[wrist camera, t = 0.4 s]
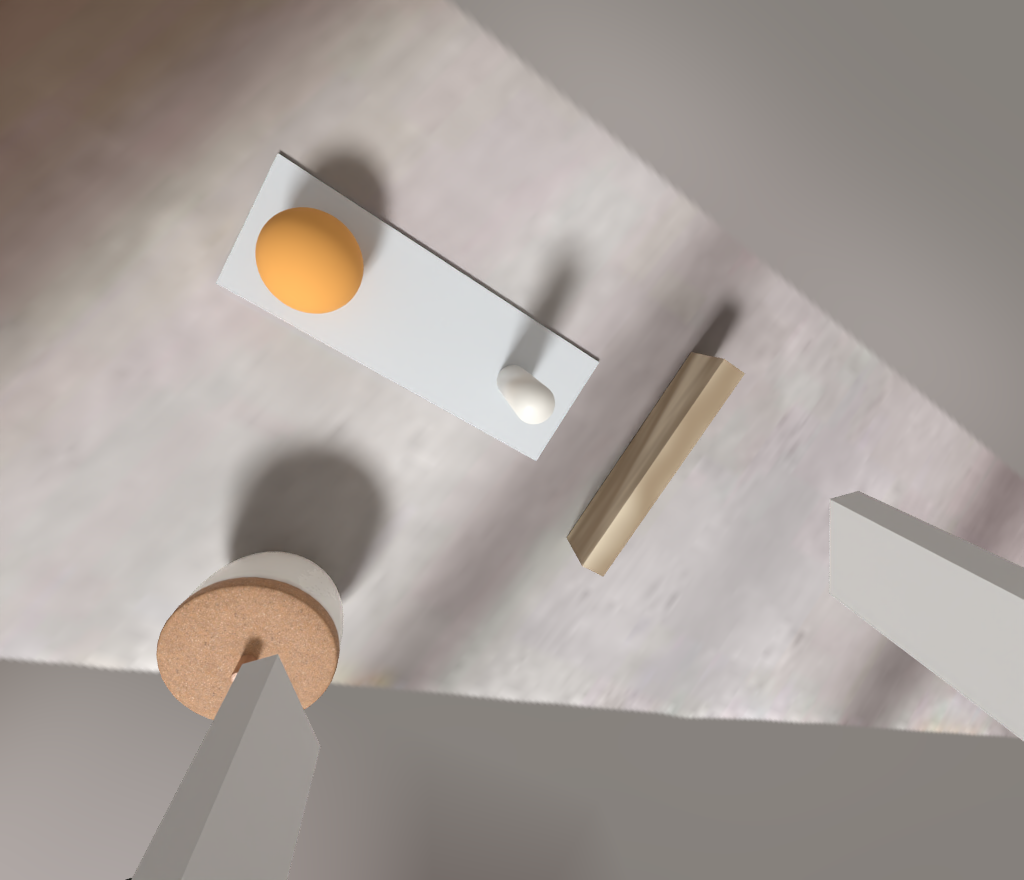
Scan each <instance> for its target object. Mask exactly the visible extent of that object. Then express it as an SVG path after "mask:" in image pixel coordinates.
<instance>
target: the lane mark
mask: <svg viewBox="0 0 1024 880" xmlns="http://www.w3.org/2000/svg"><path fill="white" fill-rule="evenodd" d="M297 207H309V208H315V209H318V210H321V211H324V212H326V213H328V214H330V215H332V216H334V217H335V218H337V219H338V220H339V221H341V222H342V223H343V224H344V225H345V226H346V227H347V228H348V229H349V230H350V232H351V233H352V234H353V236H354V237H355V239H356V241H357V243H358V245H359V247H360V250H361V253H362V257H363V265H364V270H363V278H362V282H361V285H360V287H359V289H358V291H357V293H356V294H355V296H354V297H353V298H352V299H351V300H350V301H349V302H348V303H347V304H346V305H344V306H342V307H341V308H339V309H337V310H335V311H332V312H328V313H322V314H313V313H305V312H301V311H298V310H295V309H293V308H291V307H289V306H287V305H285V304H284V303H282V302H281V301H280V300H278V299H277V298H276V297H275V296H274V295H273V294H272V293H271V292H270V291H269V290H268V288H267V287H266V286H265V284H264V282H263V281H262V279H261V277H260V274H259V272H258V268H257V265H256V258H255V249H256V243H257V239H258V236H259V234H260V231H261V230H262V228H263V226H264V225H265V224H266V223H267V221H268V220H269V219H271V218H272V217H273V216H274V215H276V214H278V213H279V212H282V211H284V210H287V209H291V208H297ZM216 284H218V285H220V286H221V287H223V288H225V289H227V290H229V291H230V292H232V293H234V294H236V295H238V296H239V297H241V298H243V299H245V300H247V301H248V302H250V303H252V304H254V305H256V306H257V307H259V308H261V309H263V310H265V311H266V312H268V313H270V314H272V315H274V316H275V317H277V318H279V319H281V320H283V321H285V322H286V323H288V324H290V325H292V326H294V327H295V328H297V329H299V330H301V331H303V332H304V333H306V334H308V335H310V336H312V337H313V338H315V339H317V340H319V341H321V342H322V343H324V344H326V345H328V346H330V347H331V348H333V349H335V350H337V351H339V352H340V353H342V354H344V355H346V356H348V357H349V358H351V359H353V360H355V361H357V362H358V363H360V364H362V365H364V366H366V367H367V368H369V369H371V370H373V371H375V372H376V373H378V374H380V375H382V376H384V377H385V378H387V379H389V380H391V381H393V382H394V383H396V384H398V385H400V386H402V387H403V388H405V389H407V390H409V391H411V392H412V393H414V394H416V395H418V396H420V397H421V398H423V399H425V400H427V401H429V402H431V403H432V404H434V405H436V406H438V407H440V408H441V409H443V410H445V411H447V412H449V413H450V414H452V415H454V416H456V417H458V418H459V419H461V420H463V421H465V422H467V423H468V424H470V425H472V426H474V427H476V428H477V429H479V430H481V431H483V432H485V433H486V434H488V435H490V436H492V437H494V438H495V439H497V440H499V441H501V442H503V443H504V444H506V445H508V446H510V447H512V448H513V449H515V450H517V451H519V452H521V453H522V454H524V455H526V456H528V457H530V458H531V459H533V460H535V461H536V460H537V459H538V457H539V456H540V454H541V453H542V451H543V449H544V448H545V446H546V445H547V443H548V442H549V440H550V438H551V437H552V435H553V434H554V432H555V431H556V429H557V428H558V426H559V424H560V423H561V421H562V420H563V418H564V417H565V415H566V413H567V412H568V410H569V409H570V407H571V406H572V404H573V402H574V401H575V399H576V398H577V396H578V395H579V393H580V391H581V390H582V388H583V387H584V385H585V384H586V382H587V381H588V379H589V377H590V376H591V374H592V373H593V371H594V370H595V368H596V366H597V365H598V363H599V362H598V361H596V360H595V359H593V358H592V357H590V356H589V355H587V354H586V353H584V352H583V351H581V350H579V349H578V348H576V347H575V346H573V345H572V344H570V343H569V342H567V341H566V340H564V339H563V338H561V337H560V336H558V335H556V334H555V333H553V332H552V331H550V330H549V329H547V328H546V327H544V326H543V325H541V324H540V323H538V322H536V321H535V320H533V319H532V318H530V317H529V316H527V315H526V314H524V313H523V312H521V311H520V310H518V309H517V308H515V307H513V306H512V305H510V304H509V303H507V302H506V301H504V300H503V299H501V298H500V297H498V296H497V295H495V294H494V293H492V292H490V291H489V290H487V289H486V288H484V287H483V286H481V285H480V284H478V283H477V282H475V281H474V280H472V279H470V278H469V277H467V276H466V275H464V274H463V273H461V272H460V271H458V270H457V269H455V268H454V267H452V266H451V265H449V264H447V263H446V262H444V261H443V260H441V259H440V258H438V257H437V256H435V255H434V254H432V253H431V252H429V251H427V250H426V249H424V248H423V247H421V246H420V245H418V244H417V243H415V242H414V241H412V240H411V239H409V238H408V237H406V236H404V235H403V234H401V233H400V232H398V231H397V230H395V229H394V228H392V227H391V226H389V225H388V224H386V223H384V222H383V221H381V220H380V219H378V218H377V217H375V216H374V215H372V214H371V213H369V212H368V211H366V210H365V209H363V208H361V207H360V206H358V205H357V204H355V203H354V202H352V201H351V200H349V199H348V198H346V197H345V196H343V195H342V194H340V193H338V192H337V191H335V190H334V189H332V188H331V187H329V186H328V185H326V184H325V183H323V182H322V181H320V180H318V179H317V178H315V177H314V176H312V175H311V174H309V173H308V172H306V171H305V170H303V169H302V168H300V167H299V166H297V165H295V164H294V163H292V162H291V161H289V160H288V159H286V158H285V157H283V156H282V155H280V154H279V153H278V154H277V156H276V158H275V160H274V162H273V164H272V166H271V168H270V170H269V173H268V175H267V177H266V179H265V181H264V183H263V185H262V187H261V189H260V192H259V194H258V196H257V198H256V200H255V202H254V204H253V206H252V208H251V210H250V213H249V215H248V217H247V219H246V221H245V223H244V225H243V227H242V229H241V232H240V234H239V236H238V238H237V240H236V242H235V244H234V246H233V248H232V251H231V253H230V255H229V257H228V259H227V261H226V263H225V265H224V267H223V270H222V272H221V274H220V276H219V278H218V280H217V282H216ZM508 365H518V366H520V367H522V368H523V369H524V370H526V371H527V372H528V373H529V374H531V375H532V376H533V377H535V378H536V379H537V380H538V381H540V382H541V383H542V384H543V385H545V386H546V387H547V388H549V389H550V391H551V392H552V393H553V396H554V399H555V408H554V411H553V413H552V415H551V416H550V417H549V418H548V419H547V420H546V421H544V422H542V423H539V424H528V423H526V422H524V421H522V420H521V419H520V418H519V417H518V416H517V414H516V413H515V411H514V410H513V409H512V407H511V406H510V404H509V403H508V402H507V400H506V399H505V397H504V396H503V394H502V393H501V392H500V390H499V389H498V386H497V376H498V374H499V372H500V371H501V370H502V369H503V368H504V367H506V366H508Z"/></svg>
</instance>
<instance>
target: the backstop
mask: <svg viewBox="0 0 1024 880" xmlns="http://www.w3.org/2000/svg"><path fill="white" fill-rule="evenodd" d="M744 374H745V373H743V372H742V371H740V370H739V369H738V368H736V367H735V366H733V365H732V364H731V363H729V362H728V361H726V360H725V359H722V358H717V357H712V356H708V355H703V354H698V353H693V352H691V353H690V355H689V356H688V358H687V359H686V361H685V362H684V364H683V365H682V367H681V368H680V370H679V371H678V373H677V374H676V376H675V377H674V379H673V380H672V382H671V383H670V385H669V386H668V388H667V389H666V391H665V392H664V394H663V395H662V397H661V398H660V400H659V401H658V402H657V404H656V405H655V407H654V408H653V410H652V411H651V413H650V414H649V416H648V417H647V419H646V420H645V422H644V423H643V425H642V426H641V428H640V429H639V431H638V432H637V434H636V435H635V437H634V438H633V440H632V441H631V443H630V444H629V446H628V447H627V449H626V450H625V452H624V453H623V455H622V456H621V458H620V459H619V461H618V462H617V464H616V465H615V467H614V468H613V470H612V471H611V472H610V474H609V475H608V477H607V478H606V480H605V481H604V483H603V484H602V486H601V487H600V489H599V490H598V492H597V493H596V495H595V496H594V498H593V499H592V501H591V502H590V504H589V505H588V507H587V508H586V510H585V511H584V513H583V514H582V516H581V517H580V519H579V520H578V522H577V523H576V525H575V526H574V528H573V529H572V531H571V532H570V534H569V535H568V537H567V539H568V541H569V543H570V545H571V547H572V548H573V550H574V552H575V554H576V556H577V557H578V559H579V561H580V563H581V565H582V566H583V567H585V568H587V569H589V570H591V571H593V572H595V573H597V574H599V575H601V576H604V575H605V573H606V572H607V570H608V569H609V567H610V566H611V565H612V563H613V562H614V560H615V559H616V557H617V556H618V555H619V553H620V552H621V550H622V549H623V547H624V546H625V545H626V543H627V542H628V540H629V539H630V537H631V536H632V535H633V533H634V532H635V530H636V529H637V527H638V526H639V524H640V523H641V522H642V520H643V519H644V517H645V516H646V514H647V513H648V512H649V510H650V509H651V507H652V506H653V504H654V503H655V502H656V500H657V499H658V497H659V496H660V494H661V493H662V492H663V490H664V489H665V487H666V486H667V484H668V483H669V482H670V480H671V479H672V477H673V476H674V474H675V473H676V471H677V470H678V469H679V467H680V466H681V464H682V463H683V461H684V460H685V459H686V457H687V456H688V454H689V453H690V451H691V450H692V449H693V447H694V446H695V444H696V443H697V441H698V440H699V439H700V437H701V436H702V434H703V433H704V431H705V430H706V429H707V427H708V426H709V424H710V423H711V421H712V420H713V418H714V417H715V416H716V414H717V413H718V411H719V410H720V408H721V407H722V406H723V404H724V403H725V401H726V400H727V398H728V397H729V396H730V394H731V393H732V391H733V390H734V388H735V387H736V386H737V384H738V383H739V381H740V380H741V378H742V377H743V376H744Z"/></svg>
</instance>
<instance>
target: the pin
mask: <svg viewBox="0 0 1024 880" xmlns="http://www.w3.org/2000/svg"><path fill="white" fill-rule="evenodd" d="M497 386H498V389H499V390H500V392H501V393H502V394H503V396H504V397H505V399H506V400H507V402H508V403H509V404H510V406H511V407H512V409H513V410H514V411H515V413H516V414H517V416H518V417H519V418H520V419H521V420H522V421H524V422H526V423H528V424H539V423H542V422H544V421H546V420H547V419H548V418H549V417H550V416H551V415H552V413H553V411H554V408H555V399H554V396H553V393H552V392H551V391H550V389H549V388H547V387H546V386H545V385H543V384H542V383H541V382H540V381H538V380H537V379H536V378H535V377H533V376H532V375H531V374H529V373H528V372H527V371H526V370H524V369H523V368H522V367H520V366H518V365H508V366H506V367H504V368H503V369H502V370H501V371H500V372H499V374H498V376H497Z"/></svg>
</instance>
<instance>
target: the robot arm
mask: <svg viewBox="0 0 1024 880" xmlns="http://www.w3.org/2000/svg"><path fill="white" fill-rule="evenodd" d="M829 594H830V595H831V596H833V597H834V598H835V599H837V600H838V601H839V602H841V603H842V604H843V605H845V606H846V607H847V608H849V609H850V610H851V611H853V612H854V613H855V614H856V615H858V616H859V617H860V618H862V619H863V620H864V621H866V622H867V623H868V624H870V625H871V626H872V627H874V628H875V629H876V630H878V631H879V632H880V633H882V634H883V635H884V636H886V637H887V638H888V639H889V640H891V641H892V642H893V643H895V644H896V645H897V646H899V647H900V648H901V649H903V650H904V651H905V652H907V653H908V654H909V655H911V656H912V657H913V658H915V659H916V660H917V661H919V662H920V663H921V664H922V665H924V666H925V667H926V668H928V669H929V670H930V671H932V672H933V673H934V674H936V675H937V676H938V677H940V678H941V679H942V680H944V681H945V682H946V683H948V684H949V685H950V686H952V687H953V688H954V689H956V690H957V691H958V692H959V693H961V694H962V695H963V696H965V697H966V698H967V699H969V700H970V701H971V702H973V703H974V704H975V705H977V706H978V707H979V708H981V709H982V710H983V711H985V712H986V713H987V714H989V715H990V716H991V717H992V718H994V719H995V720H996V721H998V722H999V723H1000V724H1002V725H1003V726H1004V727H1006V728H1007V729H1008V730H1010V731H1011V732H1012V733H1014V734H1015V735H1016V736H1018V737H1019V738H1020V739H1022V740H1023V741H1024V568H1023V567H1021V566H1019V565H1017V564H1015V563H1013V562H1010V561H1008V560H1006V559H1004V558H1002V557H1000V556H998V555H995V554H993V553H991V552H989V551H987V550H985V549H982V548H980V547H978V546H976V545H974V544H972V543H969V542H967V541H965V540H963V539H961V538H959V537H957V536H954V535H952V534H950V533H948V532H946V531H944V530H941V529H939V528H937V527H935V526H933V525H931V524H929V523H926V522H924V521H922V520H920V519H918V518H916V517H913V516H911V515H909V514H907V513H905V512H903V511H901V510H898V509H896V508H894V507H892V506H890V505H888V504H885V503H883V502H881V501H879V500H877V499H875V498H872V497H870V496H868V495H866V494H864V493H862V492H860V491H857V492H853V493H850V494H846V495H842V496H839V497H835V498H832V499H830V535H829ZM319 750H320V744H319V742H318V740H317V738H316V736H315V733H314V731H313V729H312V727H311V725H310V723H309V721H308V718H307V716H306V714H305V712H304V709H303V707H302V705H301V703H300V701H299V699H298V696H297V694H296V692H295V690H294V688H293V686H292V683H291V681H290V679H289V677H288V675H287V673H286V670H285V668H284V666H283V664H282V662H281V660H280V657H279V655H278V654H277V655H273V656H269V657H266V658H262V659H259V660H255V661H252V662H248V663H244V664H242V665H241V667H240V669H239V671H238V673H237V675H236V677H235V679H234V681H233V683H232V685H231V687H230V689H229V691H228V693H227V695H226V697H225V699H224V700H223V702H222V704H221V706H220V708H219V710H218V712H217V714H216V716H215V718H214V720H213V722H212V724H211V726H210V728H209V730H208V732H207V734H206V736H205V738H204V739H203V741H202V744H201V745H200V747H199V749H198V751H197V753H196V755H195V757H194V759H193V761H192V763H191V765H190V767H189V769H188V771H187V773H186V775H185V777H184V778H183V780H182V782H181V784H180V786H179V788H178V790H177V792H176V794H175V796H174V798H173V800H172V802H171V804H170V806H169V808H168V810H167V812H166V814H165V815H164V818H163V819H162V821H161V823H160V825H159V827H158V829H157V831H156V833H155V835H154V837H153V839H152V841H151V843H150V845H149V847H148V849H147V850H146V853H145V855H144V856H143V858H142V860H141V862H140V864H139V866H138V868H137V870H136V872H135V874H134V876H133V878H130V879H126V880H287V879H288V875H289V871H290V867H291V863H292V859H293V855H294V851H295V847H296V843H297V839H298V835H299V831H300V827H301V823H302V819H303V814H304V811H305V807H306V802H307V798H308V795H309V791H310V786H311V782H312V778H313V774H314V770H315V766H316V762H317V758H318V754H319Z"/></svg>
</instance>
